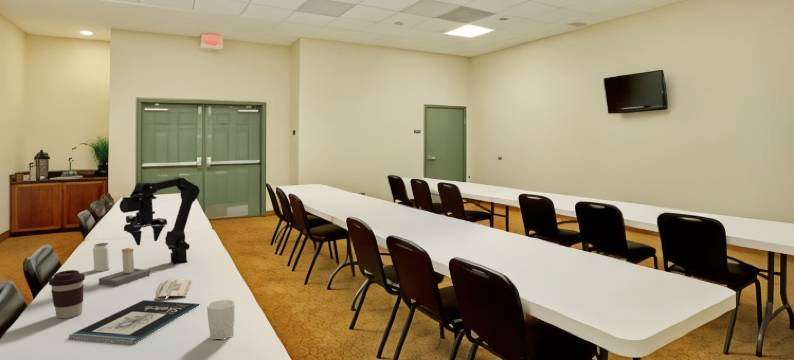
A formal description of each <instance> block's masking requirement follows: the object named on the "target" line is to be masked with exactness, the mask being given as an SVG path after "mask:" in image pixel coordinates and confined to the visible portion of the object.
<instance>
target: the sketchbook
mask: <svg viewBox="0 0 794 360" xmlns="http://www.w3.org/2000/svg"><path fill="white" fill-rule="evenodd" d="M199 305H200V306H201V304H200V303H191V302H177V301H176V302H174V301H161V300H147V299H143V300H141V301H138V302H136V303H134V304H132V305H130V306H128V307H126V308H124V309H121V310H119V311H117V312H114V313H113V314H111V315H109V316H107V317H104V318H102V319H100V320H98V321H96V322H93V323H92V324H89V325H88V326H85V327H83V328H81V329H79V330H76V331H74V332H72V333H71V334H68V338H67V339H68V340H69V339H71V340H73V339H74V338H75V339H74V341H78V340H79V341H81V340H82V341H83V342H84V341H85V342H90V341H92V342H93V343H95V342H96V343H98V342H99V343H102V342H103V343H105V342H107V344H111V343H112V344H113V343H114V344H116V343H118V345H119V344H120V345H126V344H129V345H131V346H132V345H133V344H132V343H137V344H138V342H139V341H140V342H142V341H144V340H145V339H147V338H148V337H147V336H149V335H150V336H152V335H153V334H152V333H154V332H155V331H157V330H158V329H160V328H162V327H164V326H165V325H167V324H169V323H170V322H172V321H173V322H175V321H176V320H175V319H177V318H178V317H180V316H182V315H183V314H185V313H187V312H188V313H190V312H191V311H190V310H192V309H193V310H195V309H197V308H198V307H199ZM197 306H198V307H197ZM196 307H197V308H196ZM194 308H195V309H194ZM193 310H192V311H193ZM189 311H190V312H189ZM188 313H187V314H188ZM185 315H186V314H185ZM183 316H184V315H183ZM183 316H182V317H183ZM180 318H181V317H180ZM178 319H179V318H178ZM178 319H177V320H178ZM174 320H175V321H174ZM173 322H172V323H173ZM170 324H171V323H170ZM170 324H169V325H170ZM167 326H168V325H167ZM165 327H166V326H165ZM165 327H164V328H165ZM162 329H163V328H162ZM160 330H161V329H160ZM157 332H158V331H157ZM155 333H156V332H155ZM155 333H154V334H155ZM151 334H152V335H151ZM150 336H149V337H150ZM146 337H147V338H146ZM72 338H73V339H72ZM76 338H78V339H76ZM144 338H145V339H144ZM84 339H86V340H84ZM87 339H89V340H87ZM143 339H144V340H143ZM95 340H99V341H95ZM141 340H142V341H141ZM108 341H110V342H108ZM111 341H113V342H111ZM119 342H121V343H119ZM122 342H124V343H122ZM140 342H139V343H140ZM130 343H131V344H130Z"/></svg>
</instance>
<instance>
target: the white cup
mask: <svg viewBox="0 0 794 360" xmlns="http://www.w3.org/2000/svg"><path fill="white" fill-rule="evenodd" d="M206 310H207V321H208V328H209V337H211V338H213V339H224V338H227V339H229V338H228V337H230V336H231V337H233V336H234V329H235V328H234V327H235V301H233V300H231V299H220V300H215V301H212V302H210V303H207V305H206ZM232 335H233V336H232ZM231 337H230V338H231ZM211 338H210V339H211ZM213 339H212V340H213ZM224 340H225V339H224Z"/></svg>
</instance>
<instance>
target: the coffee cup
mask: <svg viewBox="0 0 794 360" xmlns="http://www.w3.org/2000/svg"><path fill="white" fill-rule="evenodd" d="M84 280H86V278H85V274H84V273H80V271H79V270H77V269H74V270H73V269H70V270H64V271H63V270H62V271H59V272H56V273H55V274H54V275H53V277H51V278H49V280H48V285H49V286H51V296H52V302H53V307H54V310H55V316H56V318H57V317H58V319H60V318H64V319H71V318H75V317H77V316H79V315H81V314H82V313H83V302H84V283H83V282H84ZM70 317H71V318H70Z"/></svg>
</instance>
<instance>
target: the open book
mask: <svg viewBox="0 0 794 360" xmlns="http://www.w3.org/2000/svg"><path fill="white" fill-rule="evenodd" d="M191 282H193V280H192V279H186V278H185V279H181V278H179V279H168V280H165V281H164V282H161V283H159V285H158V287H157V291H156V295H155V300H154V301H161V300H166V299H165V298H166V296H170V297H184V298H187V296H186V295H188V293H189V290H190V288H189V287H191V285H192V283H191ZM187 292H188V293H187Z"/></svg>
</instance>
